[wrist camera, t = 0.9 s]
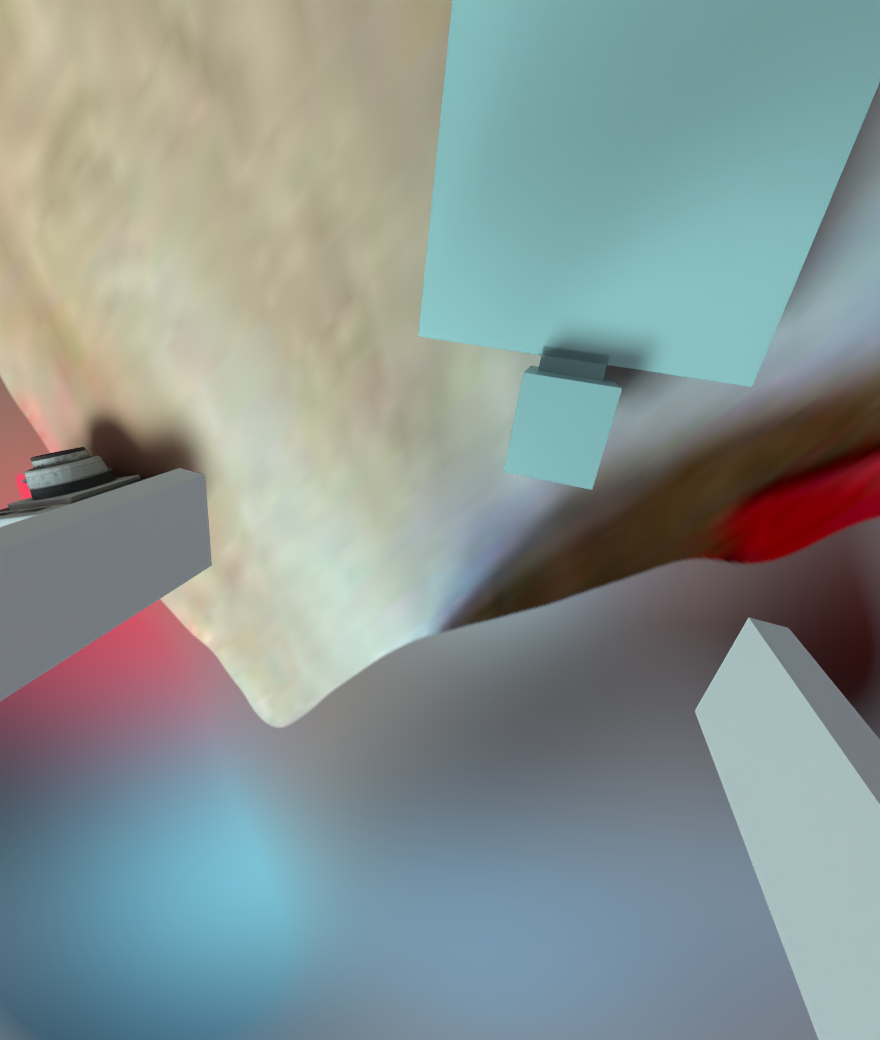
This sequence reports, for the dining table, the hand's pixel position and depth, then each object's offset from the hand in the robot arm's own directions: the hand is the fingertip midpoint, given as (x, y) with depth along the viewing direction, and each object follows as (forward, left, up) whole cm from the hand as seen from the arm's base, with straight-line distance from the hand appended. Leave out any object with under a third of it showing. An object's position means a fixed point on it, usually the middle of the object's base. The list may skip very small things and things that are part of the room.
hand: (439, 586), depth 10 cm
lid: (-12, +2, -16) cm, 20 cm away
